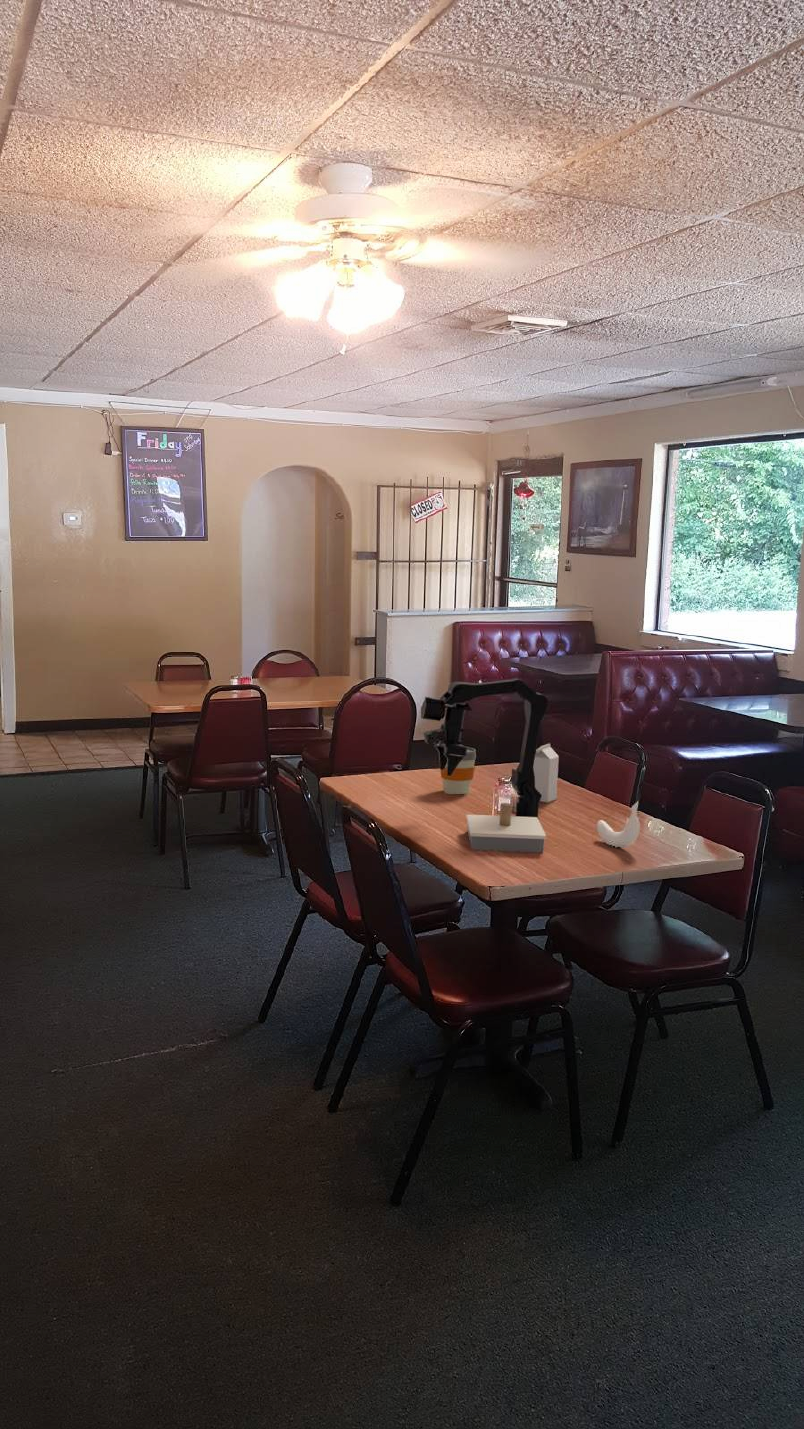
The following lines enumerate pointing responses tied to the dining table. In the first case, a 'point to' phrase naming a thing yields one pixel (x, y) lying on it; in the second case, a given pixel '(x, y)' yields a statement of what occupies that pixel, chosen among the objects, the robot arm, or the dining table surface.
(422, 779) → the dining table surface
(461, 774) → the reusable coffee cup
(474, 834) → the tub lid
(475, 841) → the tray
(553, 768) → the milk carton
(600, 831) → the white shrimp
